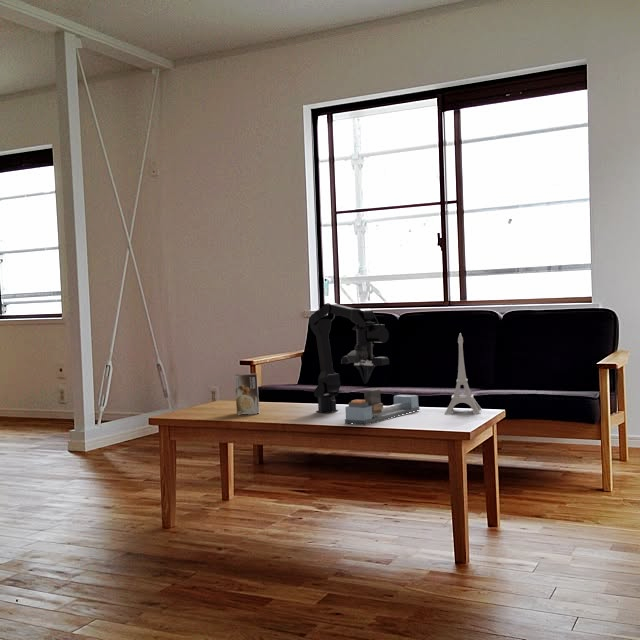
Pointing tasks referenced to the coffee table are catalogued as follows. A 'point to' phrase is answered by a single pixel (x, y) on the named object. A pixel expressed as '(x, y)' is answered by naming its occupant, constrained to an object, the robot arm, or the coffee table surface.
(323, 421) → the coffee table surface
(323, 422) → the coffee table surface
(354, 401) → the button
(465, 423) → the coffee table surface
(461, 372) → the eiffel tower
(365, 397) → the carriage
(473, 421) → the coffee table surface
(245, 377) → the coffee box
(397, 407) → the rail
